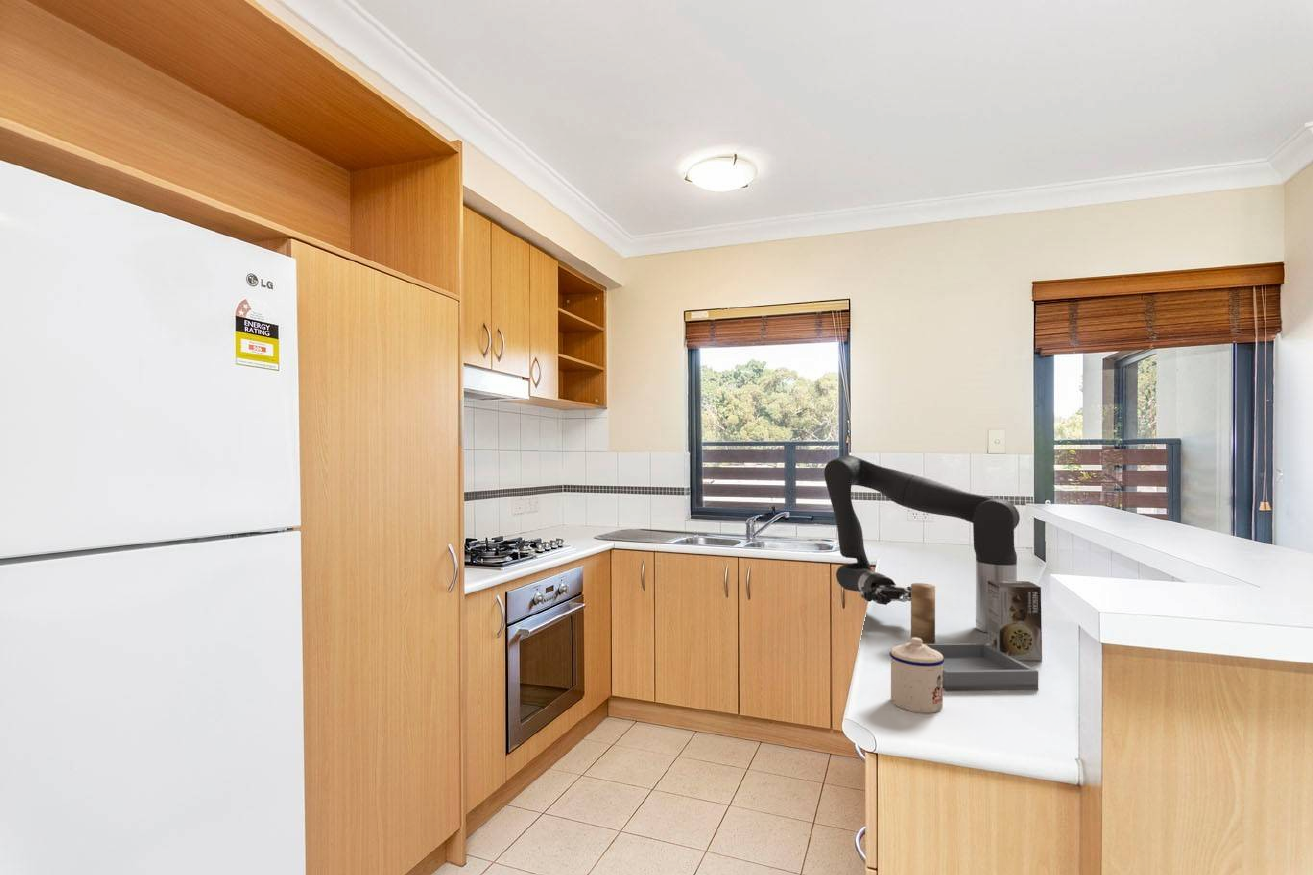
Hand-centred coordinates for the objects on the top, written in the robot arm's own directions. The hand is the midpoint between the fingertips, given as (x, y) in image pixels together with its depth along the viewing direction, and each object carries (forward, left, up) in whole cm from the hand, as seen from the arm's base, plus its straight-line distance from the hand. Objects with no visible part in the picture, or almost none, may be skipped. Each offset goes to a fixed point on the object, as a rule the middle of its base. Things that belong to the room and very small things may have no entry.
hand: (902, 600), depth 161 cm
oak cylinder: (0, +11, -8) cm, 13 cm away
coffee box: (-17, +19, -8) cm, 27 cm away
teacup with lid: (+17, +43, -8) cm, 47 cm away
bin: (0, +30, -8) cm, 31 cm away
